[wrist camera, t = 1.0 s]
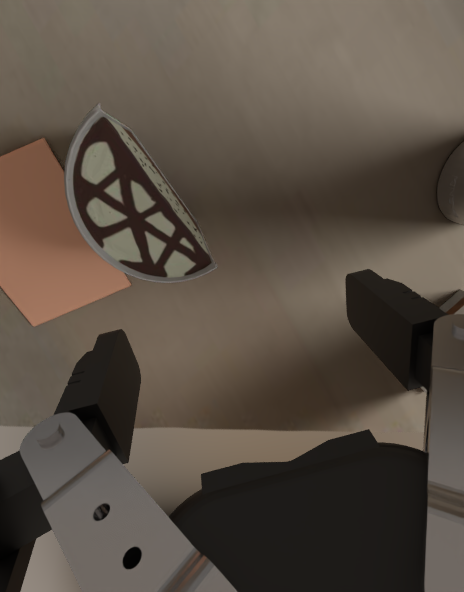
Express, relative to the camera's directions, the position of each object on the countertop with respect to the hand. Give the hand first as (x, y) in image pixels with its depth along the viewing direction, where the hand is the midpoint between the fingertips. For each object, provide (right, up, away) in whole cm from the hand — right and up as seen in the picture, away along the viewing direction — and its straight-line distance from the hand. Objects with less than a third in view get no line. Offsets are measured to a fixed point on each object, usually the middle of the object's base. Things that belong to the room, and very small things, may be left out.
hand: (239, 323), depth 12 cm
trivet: (-18, +6, +18) cm, 26 cm away
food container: (-9, +10, +18) cm, 22 cm away
